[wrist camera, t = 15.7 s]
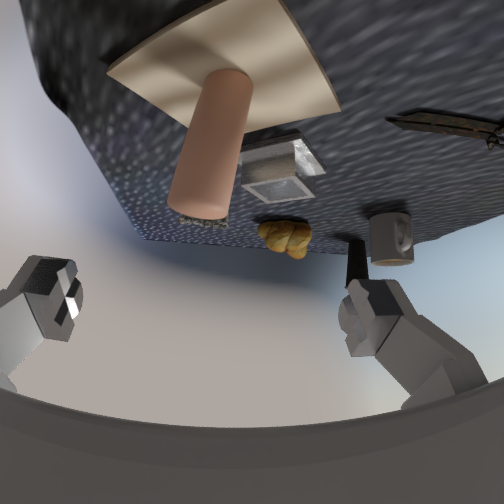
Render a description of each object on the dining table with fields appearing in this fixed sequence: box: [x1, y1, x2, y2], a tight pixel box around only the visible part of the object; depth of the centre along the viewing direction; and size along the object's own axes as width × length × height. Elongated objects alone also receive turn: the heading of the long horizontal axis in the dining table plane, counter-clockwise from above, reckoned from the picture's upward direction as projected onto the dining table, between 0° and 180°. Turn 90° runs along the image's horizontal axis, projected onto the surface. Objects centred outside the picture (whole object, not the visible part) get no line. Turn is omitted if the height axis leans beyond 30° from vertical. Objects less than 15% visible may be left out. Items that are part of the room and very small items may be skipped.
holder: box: [238, 132, 326, 204], centre depth 40 cm, size 10×10×5 cm
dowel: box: [167, 69, 254, 220], centre depth 23 cm, size 4×4×12 cm
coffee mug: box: [369, 213, 414, 266], centre depth 61 cm, size 13×10×10 cm
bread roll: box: [258, 220, 312, 259], centre depth 71 cm, size 13×10×8 cm
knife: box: [386, 112, 504, 150], centre depth 26 cm, size 25×6×1 cm, turn 96°
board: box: [106, 0, 341, 133], centre depth 24 cm, size 16×16×1 cm
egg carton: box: [178, 213, 230, 229], centre depth 64 cm, size 11×8×4 cm
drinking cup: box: [345, 240, 369, 289], centre depth 85 cm, size 8×8×20 cm
